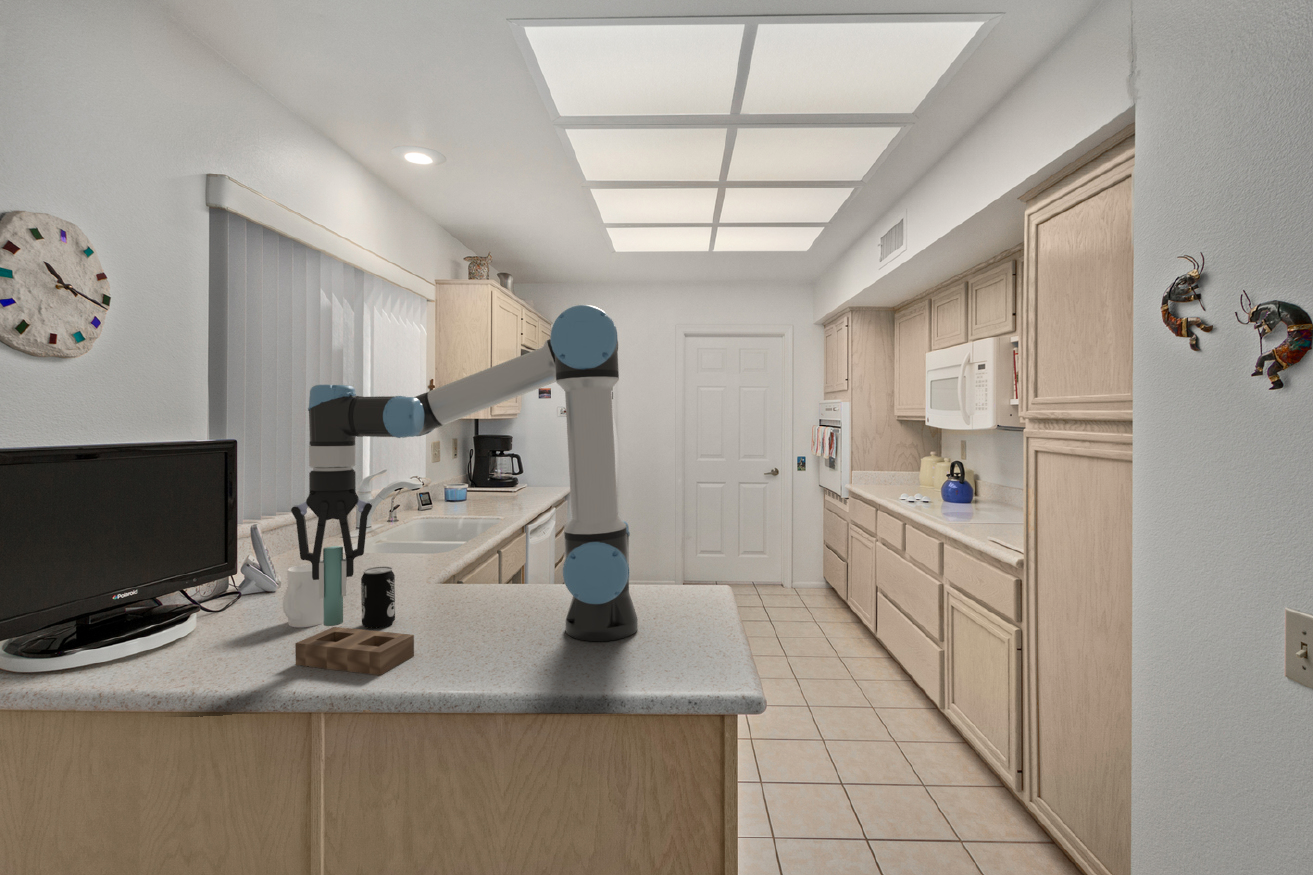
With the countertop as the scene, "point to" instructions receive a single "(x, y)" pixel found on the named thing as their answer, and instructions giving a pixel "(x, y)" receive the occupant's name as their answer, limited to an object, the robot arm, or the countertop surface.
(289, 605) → the mug
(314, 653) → the hole block
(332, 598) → the peg
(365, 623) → the beverage can
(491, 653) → the countertop surface
